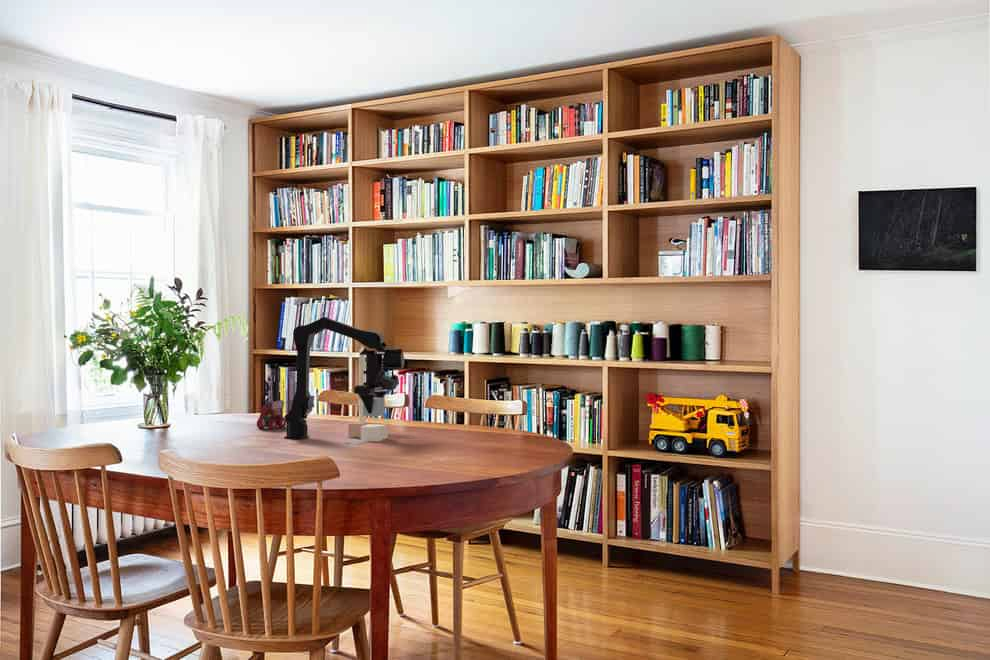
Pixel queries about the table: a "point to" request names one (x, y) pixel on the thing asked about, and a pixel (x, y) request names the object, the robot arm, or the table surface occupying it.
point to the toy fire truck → (272, 415)
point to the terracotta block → (355, 429)
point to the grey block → (376, 407)
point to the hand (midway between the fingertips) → (373, 412)
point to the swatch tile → (355, 441)
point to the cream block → (373, 432)
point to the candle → (361, 383)
